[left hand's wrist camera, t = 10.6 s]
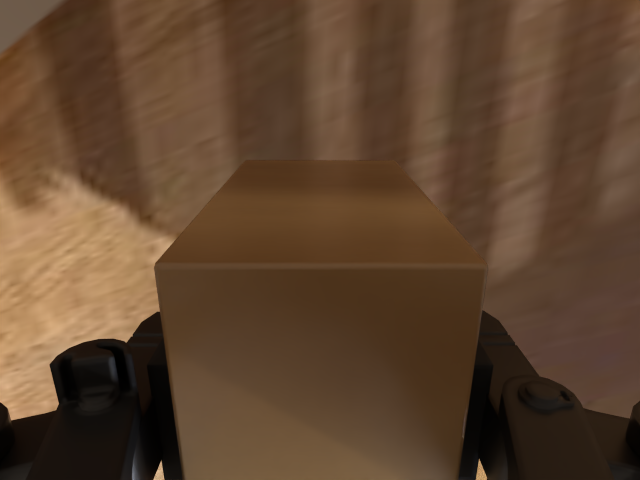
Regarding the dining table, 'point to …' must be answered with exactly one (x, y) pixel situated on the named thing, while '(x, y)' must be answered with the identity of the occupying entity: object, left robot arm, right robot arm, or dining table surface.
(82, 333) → the dining table surface
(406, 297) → the bar
